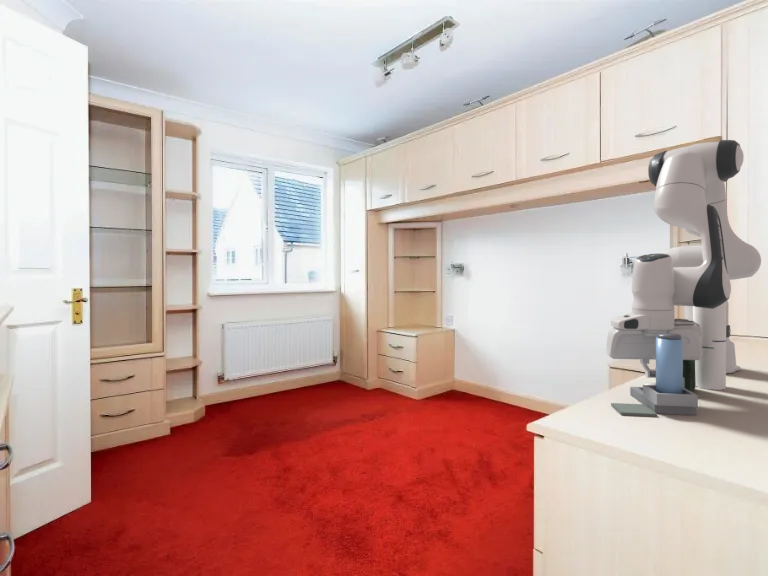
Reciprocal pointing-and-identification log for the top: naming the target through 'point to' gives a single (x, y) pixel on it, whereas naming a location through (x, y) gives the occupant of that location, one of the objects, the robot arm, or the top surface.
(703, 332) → the cylindrical container
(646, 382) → the white rounded piece
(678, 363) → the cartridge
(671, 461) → the top surface
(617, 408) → the mat
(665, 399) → the frame
